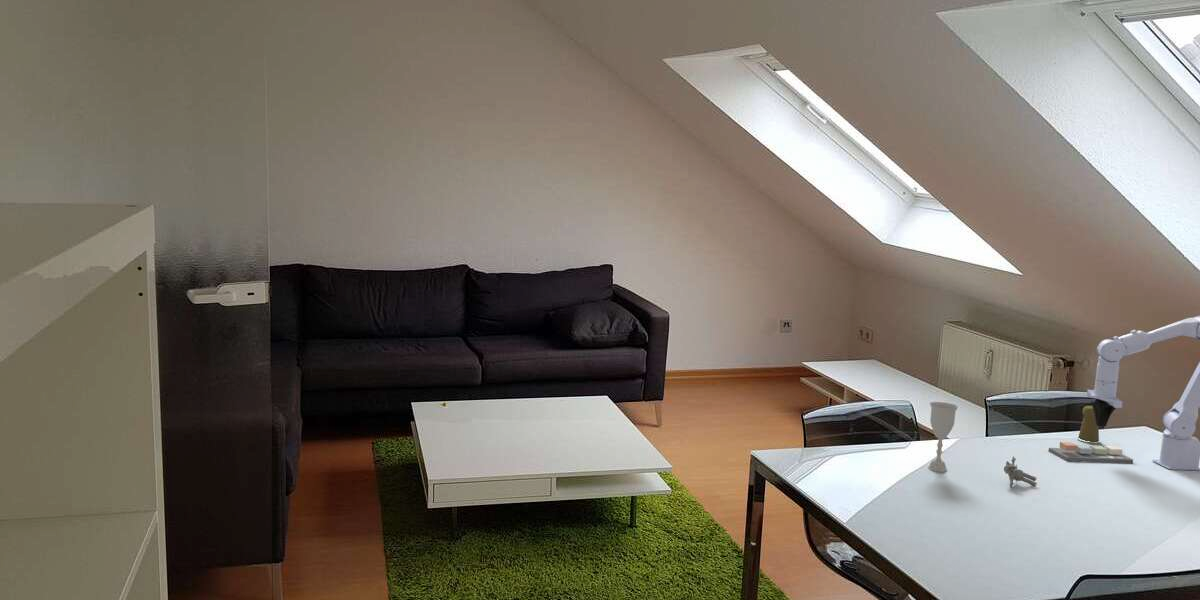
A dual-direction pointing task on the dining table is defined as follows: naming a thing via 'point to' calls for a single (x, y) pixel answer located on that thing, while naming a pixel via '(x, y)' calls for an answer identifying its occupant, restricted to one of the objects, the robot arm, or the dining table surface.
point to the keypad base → (1090, 456)
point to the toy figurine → (1018, 474)
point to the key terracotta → (1068, 446)
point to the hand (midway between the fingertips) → (1101, 426)
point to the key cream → (1113, 450)
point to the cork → (1089, 426)
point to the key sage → (1098, 449)
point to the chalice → (941, 429)
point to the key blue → (1084, 449)
